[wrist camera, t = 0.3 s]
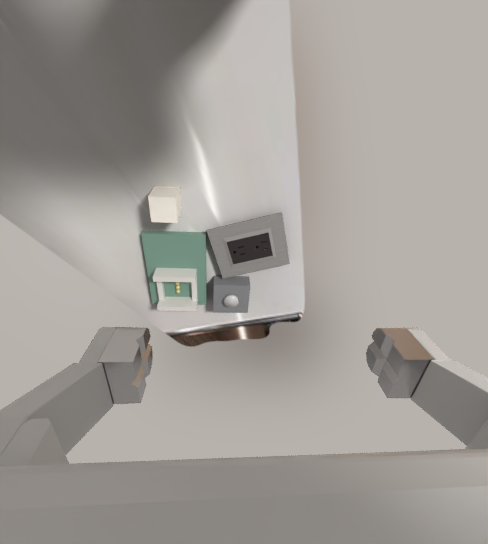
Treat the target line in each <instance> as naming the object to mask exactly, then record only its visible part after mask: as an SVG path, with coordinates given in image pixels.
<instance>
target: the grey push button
mask: <svg viewBox="0 0 488 544" xmlns="http://www.w3.org/2000/svg"><path fill="white" fill-rule="evenodd" d="M249 292H250V281H249V277H240V276H232V277H228V278H222V276H214V297H213V312H236V313H247V312H248V302H249Z"/></svg>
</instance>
